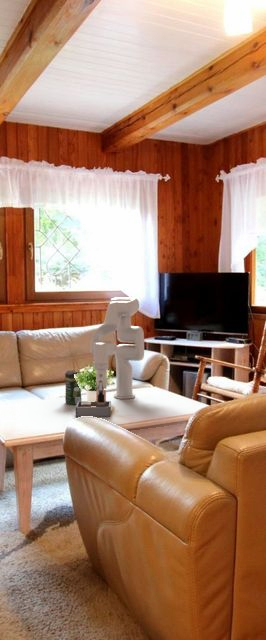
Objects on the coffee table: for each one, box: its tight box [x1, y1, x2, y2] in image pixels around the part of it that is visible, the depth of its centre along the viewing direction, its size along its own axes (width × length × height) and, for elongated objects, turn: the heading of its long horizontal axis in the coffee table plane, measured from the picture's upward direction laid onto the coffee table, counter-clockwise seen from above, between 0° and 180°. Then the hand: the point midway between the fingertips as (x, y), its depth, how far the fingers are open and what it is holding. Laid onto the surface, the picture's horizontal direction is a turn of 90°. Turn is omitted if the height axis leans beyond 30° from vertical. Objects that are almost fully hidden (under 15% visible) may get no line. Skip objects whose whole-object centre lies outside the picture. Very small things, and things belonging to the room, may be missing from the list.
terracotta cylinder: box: [95, 389, 107, 405], centre depth 278 cm, size 5×5×7 cm
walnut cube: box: [81, 402, 91, 407], centre depth 278 cm, size 5×5×5 cm
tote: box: [75, 400, 112, 418], centre depth 278 cm, size 14×18×5 cm
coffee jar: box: [64, 369, 82, 406], centre depth 302 cm, size 10×8×19 cm
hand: (101, 400), depth 278 cm, fingers closed on terracotta cylinder, 5 cm apart
